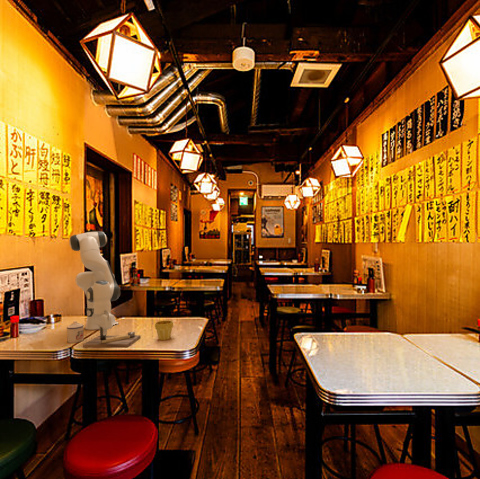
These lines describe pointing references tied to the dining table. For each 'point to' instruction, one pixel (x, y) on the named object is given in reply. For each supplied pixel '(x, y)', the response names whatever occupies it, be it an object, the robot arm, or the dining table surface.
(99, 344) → the lever board
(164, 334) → the plant pot
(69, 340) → the teacup with lid
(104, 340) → the lever
